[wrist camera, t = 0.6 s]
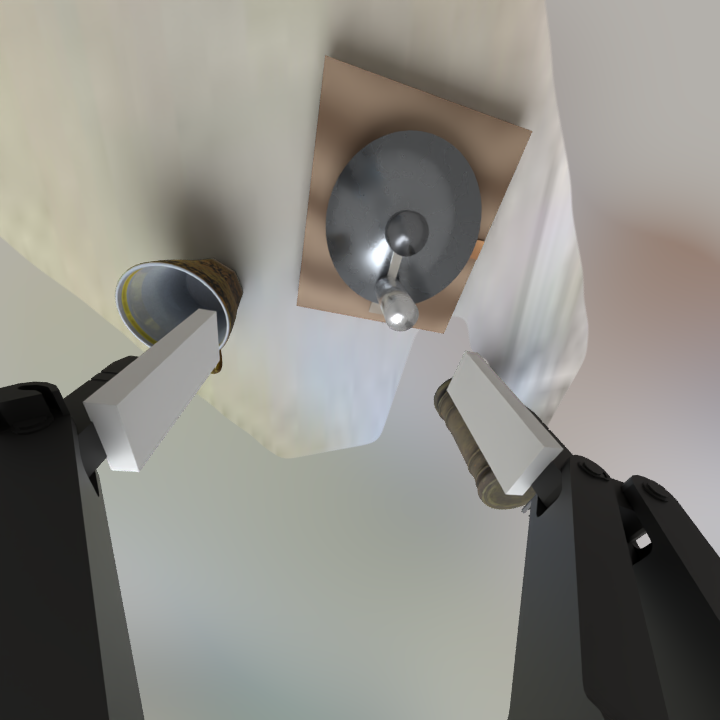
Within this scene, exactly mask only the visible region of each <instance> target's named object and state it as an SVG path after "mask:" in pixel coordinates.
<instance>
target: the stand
mask: <svg viewBox="0 0 720 720" xmlns="http://www.w3.org/2000/svg"><path fill="white" fill-rule="evenodd" d="M408 130H412V131H423V132H427V133H431V134H434V135H436V136H439V137H441V138H443V139H445V140H446V141H448V142H449V143H451V144H452V145H453V146H454V147H455V148H456V149H458V150H459V151H460V152H461V153H462V155H463V156H464V157H465V159H466V160H467V161H468V163H469V165H470V166H471V168H472V170H473V172H474V174H475V177H476V180H477V182H478V186H479V190H480V195H481V205H482V212H481V224H480V230H479V235H478V239H477V242H476V244H475V247H474V250H473V252H472V254H471V256H470V258H469V260H468V262H467V263H466V265H465V267H464V268H463V270H462V271H461V272H460V273H459V275H458V276H457V277H456V278H455V279H454V280H453V281H452V282H451V283H450V284H449V285H448V286H447V287H446V288H445V289H443V290H442V291H441V292H439V293H438V294H436V295H435V296H433V297H431V298H429V299H427V300H425V301H422V302H419V303H416V306H417V308H418V310H419V317H418V320H417V322H416V323H415V325H414V326H413V327H412V328H417V329H422V330H427V331H433V332H438V333H443V334H444V332H445V330H446V327H447V325H448V322H449V320H450V318H451V316H452V314H453V311H454V309H455V307H456V305H457V302H458V300H459V298H460V295H461V293H462V291H463V289H464V286H465V284H466V282H467V279H468V277H469V275H470V273H471V270H472V268H473V266H474V263H475V261H476V260H477V258H478V255H479V253H480V251H481V249H482V246H483V244H484V241H485V238H486V236H487V234H488V231H489V229H490V227H491V225H492V222H493V220H494V218H495V215H496V213H497V211H498V209H499V206H500V204H501V202H502V199H503V197H504V195H505V193H506V190H507V188H508V186H509V184H510V181H511V179H512V177H513V174H514V172H515V170H516V168H517V165H518V163H519V161H520V158H521V156H522V154H523V152H524V149H525V147H526V145H527V142H528V140H529V138H530V136H531V133H532V131H530V130H527V129H525V128H522V127H519V126H516V125H514V124H511V123H508V122H506V121H503V120H500V119H497V118H495V117H492V116H489V115H486V114H484V113H481V112H478V111H476V110H473V109H470V108H467V107H465V106H462V105H459V104H457V103H454V102H451V101H448V100H446V99H443V98H440V97H437V96H435V95H432V94H429V93H427V92H424V91H421V90H418V89H416V88H413V87H410V86H407V85H405V84H402V83H399V82H397V81H394V80H391V79H388V78H386V77H383V76H380V75H378V74H375V73H372V72H369V71H367V70H364V69H361V68H358V67H356V66H353V65H350V64H348V63H345V62H342V61H339V60H337V59H334V58H331V57H328V56H326V55H325V62H324V71H323V80H322V89H321V97H320V106H319V115H318V124H317V132H316V141H315V150H314V158H313V167H312V176H311V185H310V193H309V202H308V211H307V220H306V228H305V237H304V246H303V254H302V263H301V272H300V281H299V289H298V298H297V306H301V307H306V308H311V309H317V310H322V311H327V312H332V313H338V314H343V315H348V316H353V317H359V318H364V319H369V320H374V321H380V322H385V323H386V320H385V318H384V315H383V313H382V310H381V307H380V305H379V304H377V303H374V302H371V301H369V300H366V299H365V298H363V297H361V296H360V295H358V294H357V293H356V292H354V291H353V290H352V289H351V288H350V287H349V286H348V285H347V284H346V283H345V282H344V281H343V279H342V278H341V277H340V275H339V274H338V272H337V270H336V268H335V267H334V264H333V262H332V260H331V257H330V254H329V250H328V246H327V240H326V213H327V208H328V203H329V199H330V196H331V193H332V190H333V187H334V185H335V183H336V181H337V179H338V177H339V175H340V174H341V172H342V171H343V169H344V168H345V166H346V165H347V164H348V162H349V161H350V160H351V159H352V158H353V157H354V156H355V155H356V154H357V153H358V152H359V151H360V150H361V149H362V148H363V147H365V146H366V145H368V144H369V143H371V142H372V141H374V140H376V139H378V138H380V137H382V136H385V135H387V134H391V133H394V132H399V131H408Z"/></svg>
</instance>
